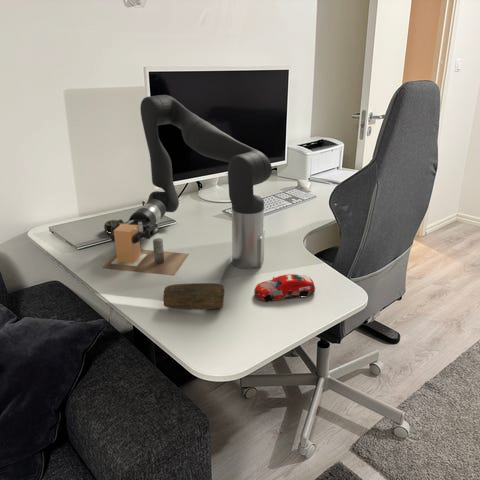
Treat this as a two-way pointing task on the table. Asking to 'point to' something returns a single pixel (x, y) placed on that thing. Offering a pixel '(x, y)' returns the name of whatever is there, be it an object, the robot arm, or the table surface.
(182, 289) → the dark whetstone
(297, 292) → the race car
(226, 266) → the table surface
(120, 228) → the tall wooden pillar
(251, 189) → the robot arm
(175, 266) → the board
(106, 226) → the tape measure
